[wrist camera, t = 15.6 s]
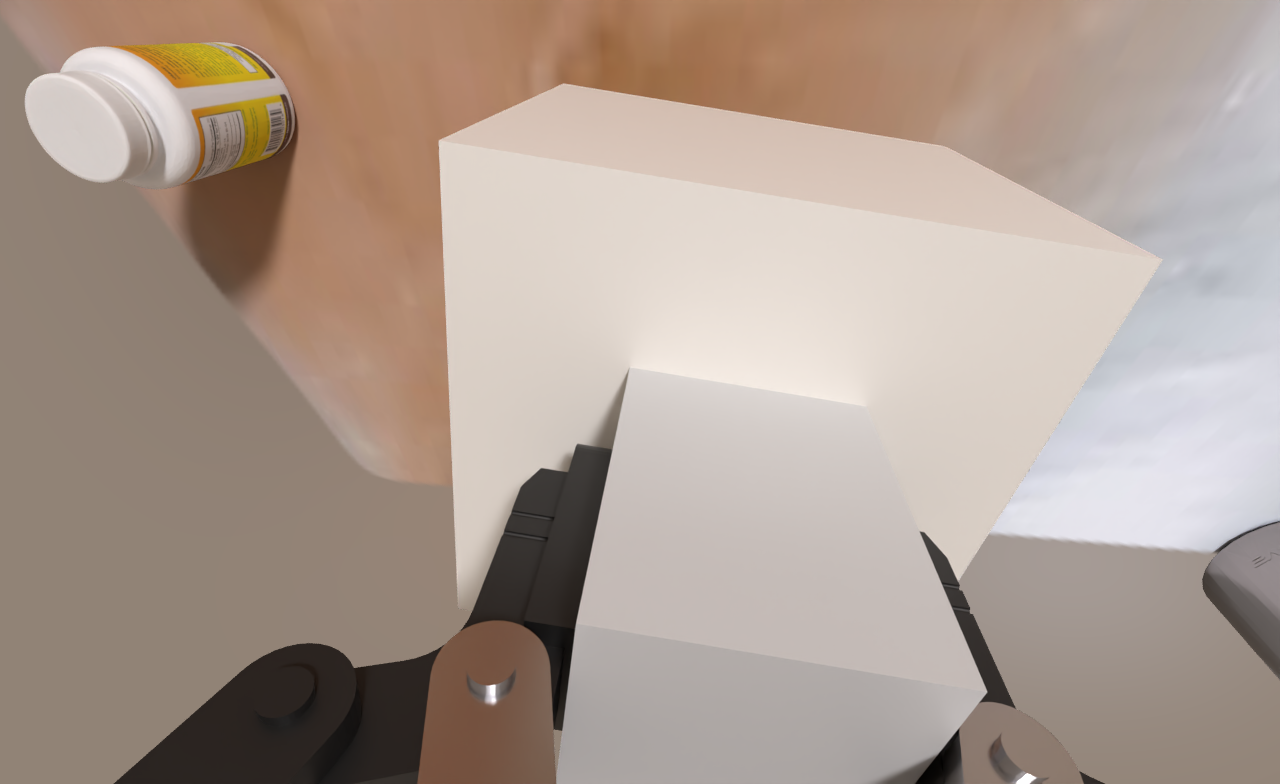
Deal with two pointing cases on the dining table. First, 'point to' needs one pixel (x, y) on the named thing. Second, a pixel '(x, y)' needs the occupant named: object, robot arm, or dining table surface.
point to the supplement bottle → (160, 112)
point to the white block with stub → (758, 414)
